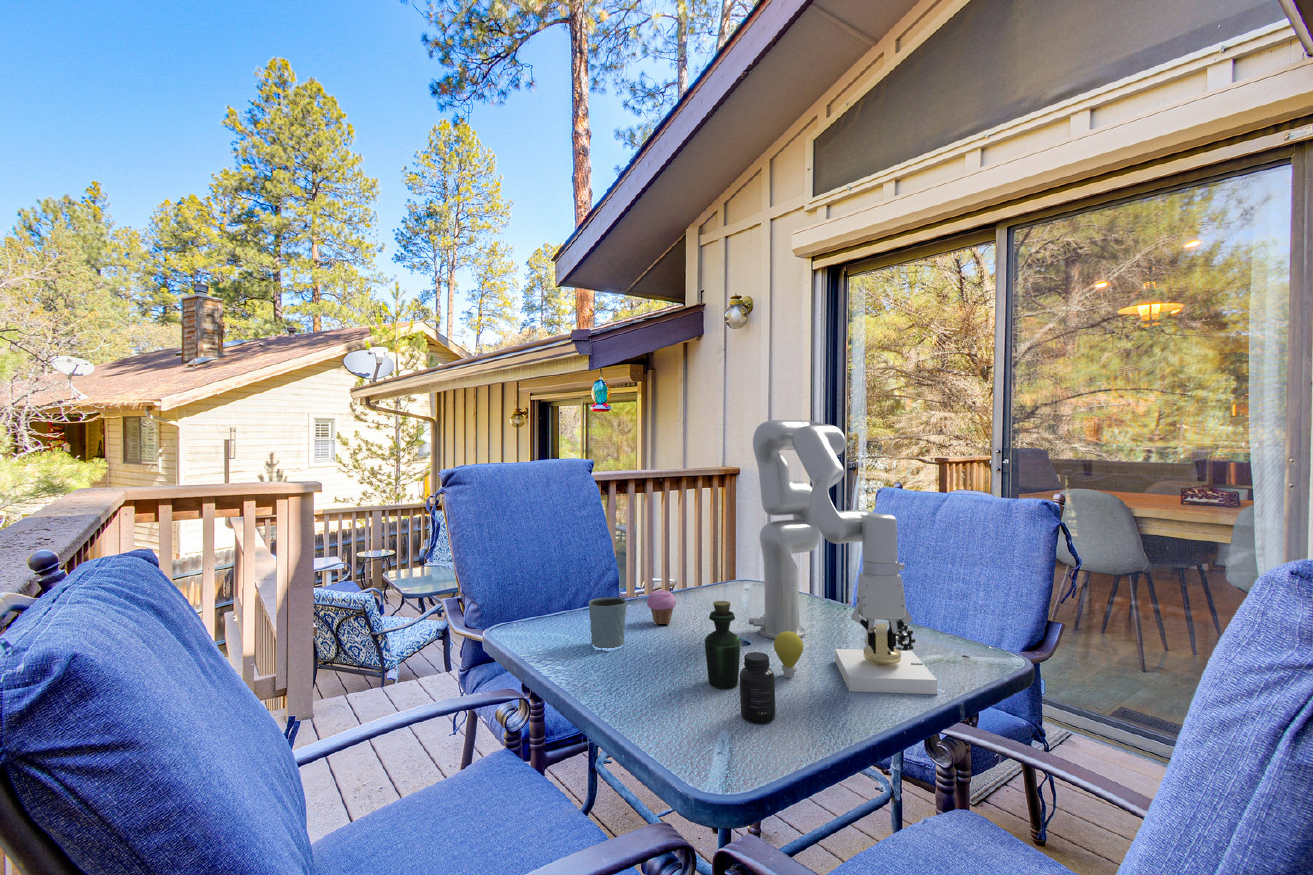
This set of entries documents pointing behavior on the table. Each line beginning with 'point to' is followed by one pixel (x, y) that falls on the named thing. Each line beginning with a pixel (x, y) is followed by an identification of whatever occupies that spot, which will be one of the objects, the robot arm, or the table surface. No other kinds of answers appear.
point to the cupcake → (661, 606)
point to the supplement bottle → (757, 689)
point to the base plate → (885, 674)
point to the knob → (882, 648)
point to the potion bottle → (722, 649)
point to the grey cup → (607, 621)
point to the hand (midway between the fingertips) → (881, 648)
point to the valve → (899, 638)
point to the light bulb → (788, 651)
